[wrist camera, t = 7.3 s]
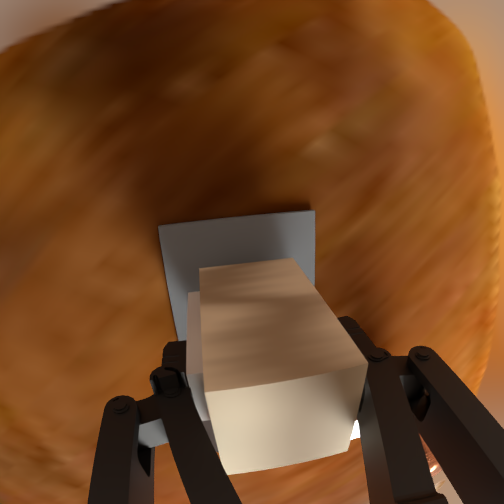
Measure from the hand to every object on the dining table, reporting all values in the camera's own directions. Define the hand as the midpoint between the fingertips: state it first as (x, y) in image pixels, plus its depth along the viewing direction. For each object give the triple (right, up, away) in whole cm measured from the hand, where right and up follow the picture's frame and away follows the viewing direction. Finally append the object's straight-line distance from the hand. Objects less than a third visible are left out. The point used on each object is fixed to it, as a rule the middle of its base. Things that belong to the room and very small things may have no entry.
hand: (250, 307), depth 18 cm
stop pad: (0, +1, +2) cm, 2 cm away
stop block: (0, 0, 0) cm, 0 cm away
